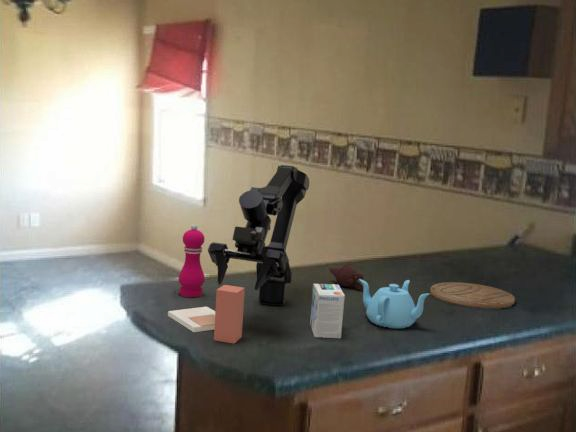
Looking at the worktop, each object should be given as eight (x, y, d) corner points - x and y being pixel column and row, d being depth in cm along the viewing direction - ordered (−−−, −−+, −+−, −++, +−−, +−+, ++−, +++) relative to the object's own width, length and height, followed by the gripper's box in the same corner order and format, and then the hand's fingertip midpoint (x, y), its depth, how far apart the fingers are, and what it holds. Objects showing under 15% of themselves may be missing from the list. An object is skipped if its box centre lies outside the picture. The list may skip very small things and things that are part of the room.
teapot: (372, 331, 182) (375, 292, 180) (354, 313, 196) (357, 276, 195) (427, 331, 185) (431, 292, 183) (405, 313, 200) (409, 277, 198)
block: (221, 333, 172) (224, 284, 170) (241, 337, 171) (244, 287, 169) (213, 340, 167) (216, 289, 165) (234, 343, 166) (237, 292, 164)
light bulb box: (309, 323, 185) (312, 282, 183) (335, 325, 185) (338, 283, 184) (314, 337, 174) (317, 294, 172) (342, 338, 175) (345, 295, 173)
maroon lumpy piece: (319, 262, 226) (353, 277, 216) (337, 254, 231) (371, 269, 220) (321, 282, 229) (354, 298, 218) (338, 274, 233) (372, 289, 222)
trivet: (528, 302, 223) (529, 296, 222) (489, 316, 204) (490, 309, 204) (456, 284, 239) (456, 278, 239) (414, 295, 221) (414, 289, 221)
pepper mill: (199, 299, 200) (202, 227, 196) (174, 296, 201) (177, 224, 198) (207, 292, 207) (210, 223, 203) (182, 289, 208) (186, 220, 205)
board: (167, 315, 183) (168, 310, 183) (206, 311, 189) (206, 305, 189) (193, 332, 172) (194, 326, 171) (234, 326, 178) (234, 321, 178)
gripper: (212, 209, 176) (192, 262, 167) (286, 218, 171) (269, 273, 163) (222, 236, 185) (203, 288, 176) (293, 245, 180) (277, 299, 171)
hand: (237, 286), depth 171 cm, fingers open, 9 cm apart
